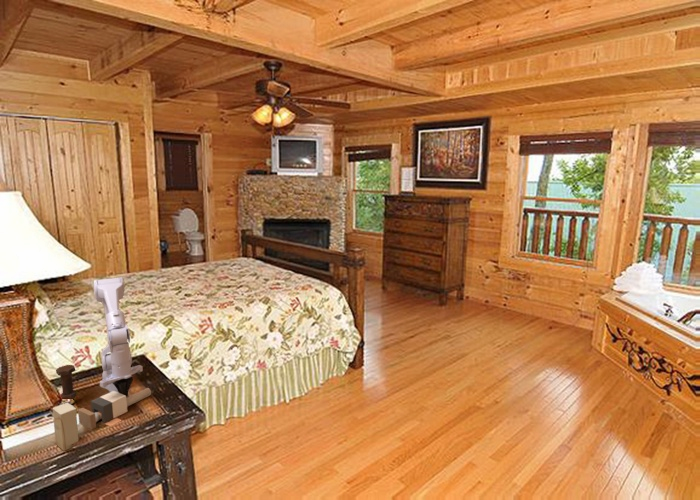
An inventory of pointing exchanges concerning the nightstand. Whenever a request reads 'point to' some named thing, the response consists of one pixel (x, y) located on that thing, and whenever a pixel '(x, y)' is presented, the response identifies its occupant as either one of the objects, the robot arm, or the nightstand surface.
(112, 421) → the pipe clamp
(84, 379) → the nightstand surface
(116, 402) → the sleeve
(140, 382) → the nightstand surface
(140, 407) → the nightstand surface
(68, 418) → the skincare box
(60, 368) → the bolt
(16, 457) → the nightstand surface
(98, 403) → the dark grey block
